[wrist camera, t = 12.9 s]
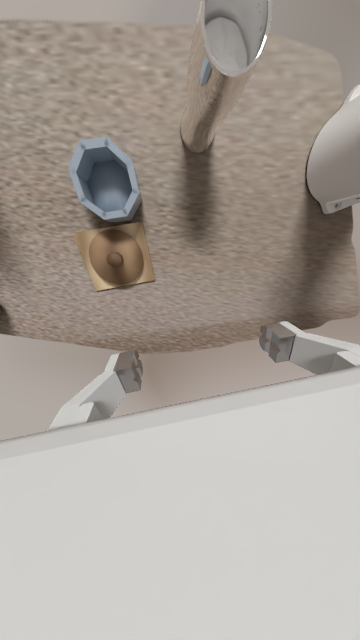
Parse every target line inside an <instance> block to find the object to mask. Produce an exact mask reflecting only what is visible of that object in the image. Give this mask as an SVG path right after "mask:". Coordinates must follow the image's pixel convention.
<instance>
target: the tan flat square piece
mask: <svg viewBox="0 0 360 640" xmlns="http://www.w3.org/2000/svg"><path fill="white" fill-rule="evenodd" d="M108 229H115V230H120V231H123V232H125V233H127V234H128V235H130V236H131V237H132V238H134V239H135V241H136V242H137V243H138V244H139V246H140V248H141V250H142V253H143V259H144V263H143V268H142V271H141V273H140V275H139V276H138V277H137V278H136V279H135V280H134V281H132V282H131V283H128V284H123V285H118V284H113V283H110V282H108V281H106V280H104V279H103V278H101V277H100V276H99V275H98V274H97V273H96V271H95V270H94V268H93V267H92V265H91V262H90V258H89V247H90V243H91V241H92V239H93V238H94V237H95V236H96V235H97V234H98V233H100V232H102V231H104V230H108ZM73 236H74V238H75V241H76V243H77V246H78V248H79V250H80V253H81V255H82V258H83V260H84V262H85V265H86V267H87V270H88V272H89V275H90V277H91V279H92V282H93V284H94V287H95V289H96V291H99V290H104V289H110V288H115V287H121V286H126V285H131V284H137V283H142V282H148V281H153V280H155V277H154V273H153V268H152V264H151V259H150V255H149V250H148V246H147V242H146V237H145V233H144V228H143V224H142V222H136V223H130V224H124V225H118V226H112V227H106V228H100V229H94V230H88V231H82V232H76V233H73Z"/></svg>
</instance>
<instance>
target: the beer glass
mask: <svg viewBox="0 0 360 640" xmlns="http://www.w3.org/2000/svg"><path fill="white" fill-rule="evenodd" d="M271 16H272V0H202V1H201V5H200V8H199V13H198V16H197V21H196V25H195V29H194V34H193V39H192V44H191V50H190V57H189V64H188V77H187V107H186V109H185V111H184V113H183V115H182V119H181V136H182V139H183V142H184V144H185V145H186V147H187V148H188V149H189V150H190V151H192V152H194V153H201V152H203V151H205V150H206V149H207V148H208V147H209V146H210V145H211V143H212V141H213V138H214V135H215V130H216V128H217V127H218V126H219V125H220V124H221V122H222V121H223V120H224V119H225V118H226V117H227V116H228V114H229V113H230V112H231V111H232V109H233V108H234V106H235V105H236V103H237V102H238V100H239V98H240V97H241V95H242V93H243V91H244V89H245V87H246V85H247V83H248V81H249V79H250V77H251V75H252V73H253V71H254V68H255V66H256V64H257V62H258V60H259V58H260V56H261V54H262V52H263V50H264V48H265V45H266V42H267V39H268V35H269V30H270V25H271Z"/></svg>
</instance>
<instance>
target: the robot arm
mask: <svg viewBox="0 0 360 640" xmlns="http://www.w3.org/2000/svg"><path fill="white" fill-rule="evenodd" d="M307 183H308V187H309V190H310V192H311V194H312V196H313V197H314V198H315V199H316V200H317V201H319V203H320V204H321V207H322V210H323V213H324V214H331V213H333V212H336V211H338V210H341V209H343V208H346V207H348V206H351V205H353V204H356V203H358V202H360V84H359V85H358V86H356V87H355V88H353V90H352V91H351V92H350V94H349V95H348V97H347V98H346V100H345V102H344V104H343V105H342V107H341V108H340V110H339V111H338V112H337V113H336V114H335V115H334V116H333V117H332V118H331V119H330V120H329V121H328V122H327V123H326V124H325V126H324V127H323V128H322V130H321V131H320V133H319V135H318V137H317V138H316V140H315V142H314V145H313V147H312V150H311V153H310V156H309V160H308V166H307ZM260 332H261V333H262V335H261V336H260V338H259V342H260V346H261V348H262V349H263V350H264V351H266V352H268V353H269V356H270V357H271V358H272V359H273V360H274V362H276V363H277V362H283V361H289V360H290V362H292V363H294V364H296V365H298V366H300V367H303V368H304V369H307V370H309V371H311V372H313V373H315V374H317V375H315V376H310V377H305V378H300V379H296V380H291V381H286V382H281V383H276V384H271V385H266V386H262V387H257V388H252V389H247V390H242V391H237V392H233V393H228V394H223V395H218V396H213V397H209V398H204V399H200V400H194V401H190V402H185V403H180V404H175V405H170V406H165V407H161V408H156V409H151V410H146V411H141V412H137V413H132V414H127V415H122V416H118V417H113V418H110V416H111V415H112V414H113V412H114V411H115V409H116V408H117V406H118V405H119V404H120V402H121V401H122V399H123V398H124V396H125V395H126V393H130V392H135V391H139V390H140V389H141V382H142V381H141V378H140V377H141V376H142V374H143V367H142V363H141V360H139V359H138V357H139V354H138V352H137V351H136V350H134V351H128V352H123V353H117V354H113V355H111V357H110V359H109V362H108V364H107V366H106V368H105V371H104V373H103V374H100V375H99V376H98V377H97V378H96V379H94V380H93V381H92V382H91V383H90V384H88V385H87V386H86V387H85V388H84V389H82V390H81V391H80V392H79V393H78V394H77V395H75V396H74V397H73V398H72V399H71V400H70V401H68V402H67V403H66V404H65V405H64V406H62V407H61V409H60V411H59V413H58V414H57V416H56V418H55V419H54V421H53V422H52V424H51V426H50V428H49V429H48V431H45V432H40V433H35V434H31V435H26V436H21V437H17V438H12V439H6V440H2V441H0V640H360V345H357V344H353V343H349V342H344V341H340V340H336V339H332V338H328V337H324V336H320V335H315V334H311V333H305V332H303V331H302V330H300V329H299V328H297V327H295V326H294V325H292V324H290V323H289V322H287V321H282V322H278V323H274V324H269V325H264V326H262V327H261V329H260Z"/></svg>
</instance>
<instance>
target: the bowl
mask: <svg viewBox="0 0 360 640" xmlns="http://www.w3.org/2000/svg"><path fill="white" fill-rule="evenodd" d="M68 170H69V173H70V176H71V179H72V181H73V184H74V187H75V190H76V192H77V195H78V198H79V201H80V202H81V203H82V204H83V205H85V206H86V207H87V208H89V209H90V210H91V211H93V212H94V213H96V214H97V215H98V216H100V217H101V218H102V219H104V220H106V221H108V222H110V223H116V222H122V221H128V220H132V218H133V216H134V215H135V213H136V211H137V209H138V207H139V205H140V203H141V201H142V199H141V194H140V189H139V185H138V180H137V175H136V171H135V168H134V165H133V162H132V160H131V159H130V158H129V157H128V156H127V155H126V154H125V153H124V152H123V151H122V150H121V149H120V148H119V147H117V146H116V145H115V144H114V143H113V142H112V141H111V140H110V139H109V138H108V137H100V138H92V139H85V140H79V141H78V144H77V147H76V149H75V152H74V155H73V158H72V160H71V163H70V166H69V169H68Z"/></svg>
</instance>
